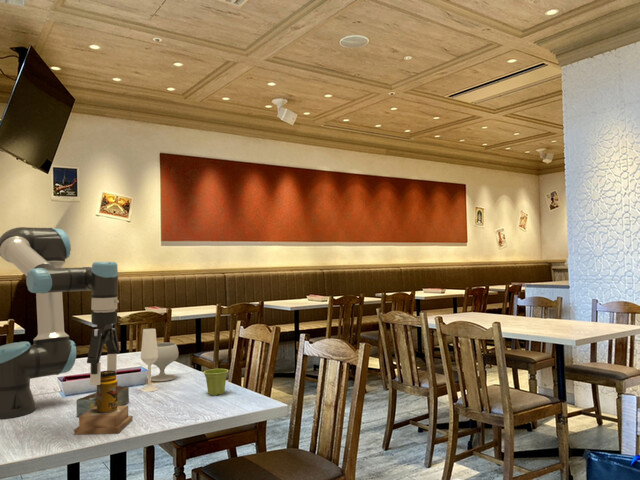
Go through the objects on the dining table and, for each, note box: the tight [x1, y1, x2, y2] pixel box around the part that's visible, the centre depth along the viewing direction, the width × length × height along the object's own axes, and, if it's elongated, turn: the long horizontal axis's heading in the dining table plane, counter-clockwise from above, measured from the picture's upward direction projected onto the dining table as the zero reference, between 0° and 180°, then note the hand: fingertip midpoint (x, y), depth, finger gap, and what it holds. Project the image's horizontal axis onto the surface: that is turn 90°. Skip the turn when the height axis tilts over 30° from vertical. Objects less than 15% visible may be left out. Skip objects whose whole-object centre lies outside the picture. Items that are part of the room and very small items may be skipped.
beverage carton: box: [76, 385, 130, 418], centre depth 185 cm, size 8×19×7 cm, turn 166°
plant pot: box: [203, 368, 229, 396], centre depth 204 cm, size 9×9×9 cm
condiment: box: [88, 370, 120, 416], centre depth 164 cm, size 7×8×12 cm
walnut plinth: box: [73, 405, 134, 436], centre depth 165 cm, size 13×13×5 cm
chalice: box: [151, 342, 180, 382], centre depth 232 cm, size 14×14×15 cm
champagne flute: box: [140, 328, 159, 393], centre depth 213 cm, size 7×7×24 cm
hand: (103, 379), depth 165 cm, fingers open, 13 cm apart
